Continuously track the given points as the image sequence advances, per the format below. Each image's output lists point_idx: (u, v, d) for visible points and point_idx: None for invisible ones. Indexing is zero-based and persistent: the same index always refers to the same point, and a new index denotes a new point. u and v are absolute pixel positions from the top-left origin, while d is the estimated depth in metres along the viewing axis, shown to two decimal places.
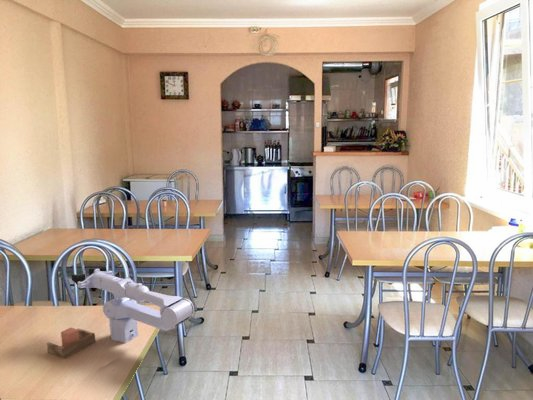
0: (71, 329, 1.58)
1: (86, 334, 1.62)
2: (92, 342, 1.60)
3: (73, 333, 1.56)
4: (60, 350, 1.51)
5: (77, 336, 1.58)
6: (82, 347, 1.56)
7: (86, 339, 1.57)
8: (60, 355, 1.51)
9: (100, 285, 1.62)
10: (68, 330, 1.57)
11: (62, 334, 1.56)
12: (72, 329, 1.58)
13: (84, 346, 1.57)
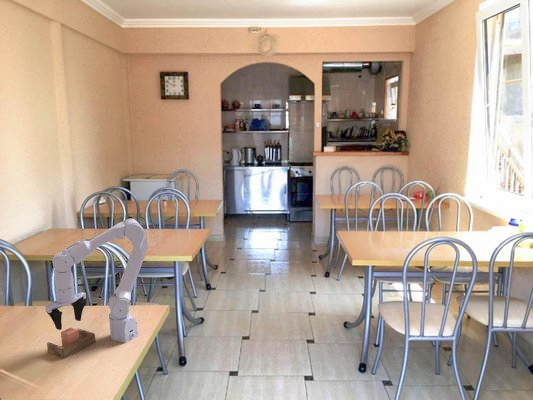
0: (71, 329, 1.58)
1: (86, 334, 1.62)
2: (92, 342, 1.60)
3: (73, 333, 1.56)
4: (60, 350, 1.51)
5: (77, 336, 1.58)
6: (82, 347, 1.56)
7: (86, 339, 1.57)
8: (60, 355, 1.51)
9: (65, 288, 1.52)
10: (68, 330, 1.57)
11: (62, 334, 1.56)
12: (72, 329, 1.58)
13: (84, 346, 1.57)
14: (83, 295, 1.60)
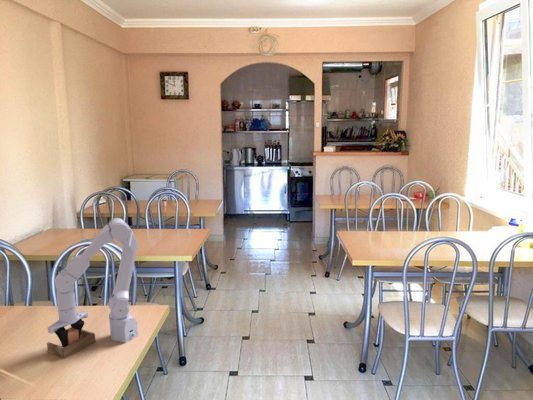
0: (71, 329, 1.58)
1: (86, 334, 1.62)
2: (92, 342, 1.60)
3: (73, 333, 1.56)
4: (60, 350, 1.51)
5: (77, 336, 1.58)
6: (82, 347, 1.56)
7: (86, 339, 1.57)
8: (60, 355, 1.51)
9: (67, 309, 1.53)
10: None
11: None
12: (72, 329, 1.58)
13: (84, 346, 1.57)
14: (85, 314, 1.61)
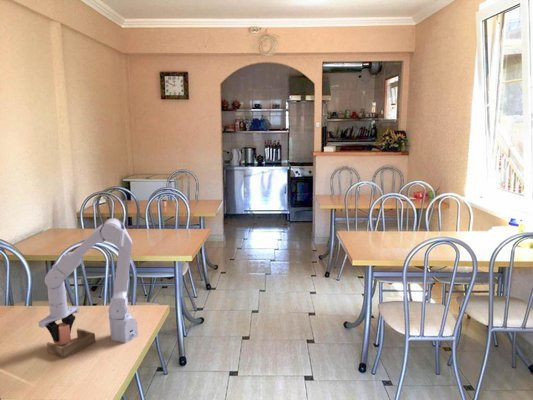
0: (62, 324, 1.60)
1: (86, 334, 1.62)
2: (92, 342, 1.60)
3: (64, 328, 1.58)
4: (60, 350, 1.51)
5: (68, 331, 1.60)
6: (82, 347, 1.56)
7: (86, 339, 1.57)
8: (60, 355, 1.51)
9: (56, 304, 1.55)
10: (59, 325, 1.59)
11: None
12: (63, 324, 1.60)
13: (84, 346, 1.57)
14: (76, 309, 1.63)
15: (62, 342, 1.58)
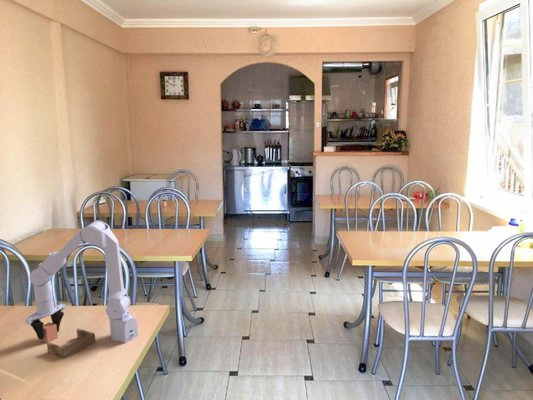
0: (49, 324, 1.64)
1: (86, 334, 1.62)
2: (92, 342, 1.60)
3: (51, 327, 1.62)
4: (60, 350, 1.51)
5: (55, 330, 1.64)
6: (82, 347, 1.56)
7: (86, 339, 1.57)
8: (60, 355, 1.51)
9: (41, 301, 1.59)
10: (46, 325, 1.63)
11: None
12: (50, 324, 1.64)
13: (84, 346, 1.57)
14: (63, 307, 1.67)
15: (49, 341, 1.62)
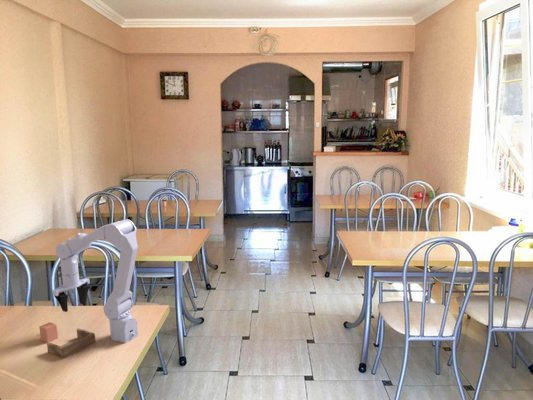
0: (49, 324, 1.64)
1: (86, 334, 1.62)
2: (92, 342, 1.60)
3: (51, 327, 1.62)
4: (60, 350, 1.51)
5: (55, 330, 1.64)
6: (82, 347, 1.56)
7: (86, 339, 1.57)
8: (60, 355, 1.51)
9: (65, 274, 1.65)
10: (46, 325, 1.63)
11: (40, 328, 1.62)
12: (50, 324, 1.64)
13: (84, 346, 1.57)
14: (87, 280, 1.73)
15: (49, 341, 1.62)
